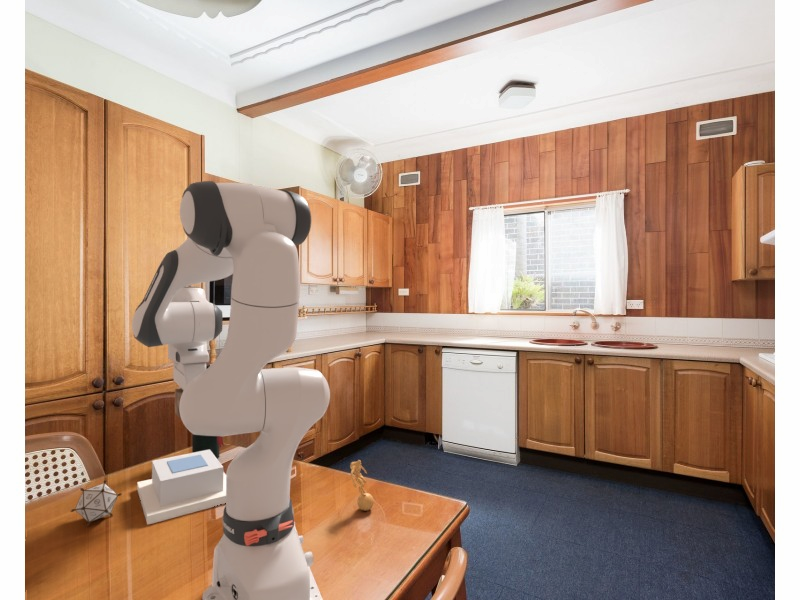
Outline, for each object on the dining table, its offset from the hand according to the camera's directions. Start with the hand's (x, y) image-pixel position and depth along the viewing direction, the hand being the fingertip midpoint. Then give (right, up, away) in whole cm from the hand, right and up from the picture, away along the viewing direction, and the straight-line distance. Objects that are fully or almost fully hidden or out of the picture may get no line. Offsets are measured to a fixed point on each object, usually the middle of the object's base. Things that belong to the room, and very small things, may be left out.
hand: (187, 405), depth 110 cm
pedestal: (0, -23, +1) cm, 23 cm away
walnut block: (0, -2, 0) cm, 2 cm away
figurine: (+44, -25, -4) cm, 51 cm away
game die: (-15, -23, -11) cm, 30 cm away
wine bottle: (-5, -22, +24) cm, 33 cm away
